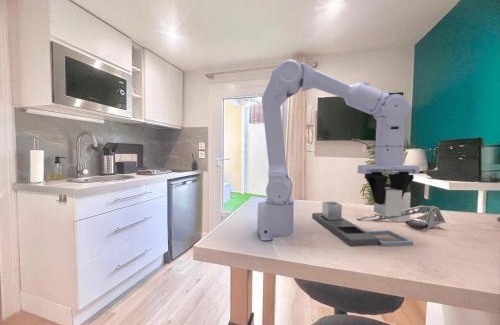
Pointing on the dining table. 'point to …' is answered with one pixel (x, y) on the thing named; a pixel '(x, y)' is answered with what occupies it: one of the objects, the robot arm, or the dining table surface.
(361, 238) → the slotted metal plate
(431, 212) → the bracket
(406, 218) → the jar
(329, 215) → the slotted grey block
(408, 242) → the tray
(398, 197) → the light grey rectangular block
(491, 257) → the dining table surface
